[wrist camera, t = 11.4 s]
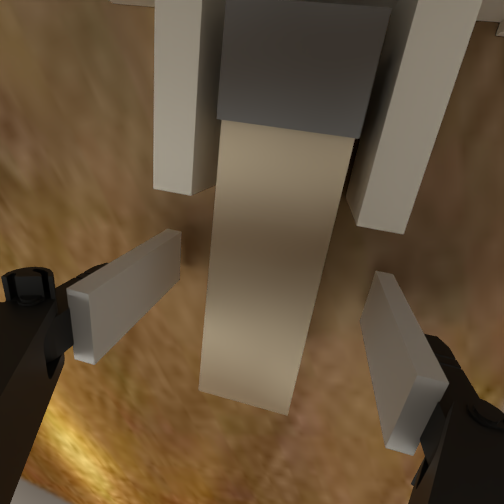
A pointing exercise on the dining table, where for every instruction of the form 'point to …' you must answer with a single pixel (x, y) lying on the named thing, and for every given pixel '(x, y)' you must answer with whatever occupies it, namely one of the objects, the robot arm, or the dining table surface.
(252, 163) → the beige wooden block
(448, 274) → the dining table surface
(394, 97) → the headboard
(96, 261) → the dining table surface
